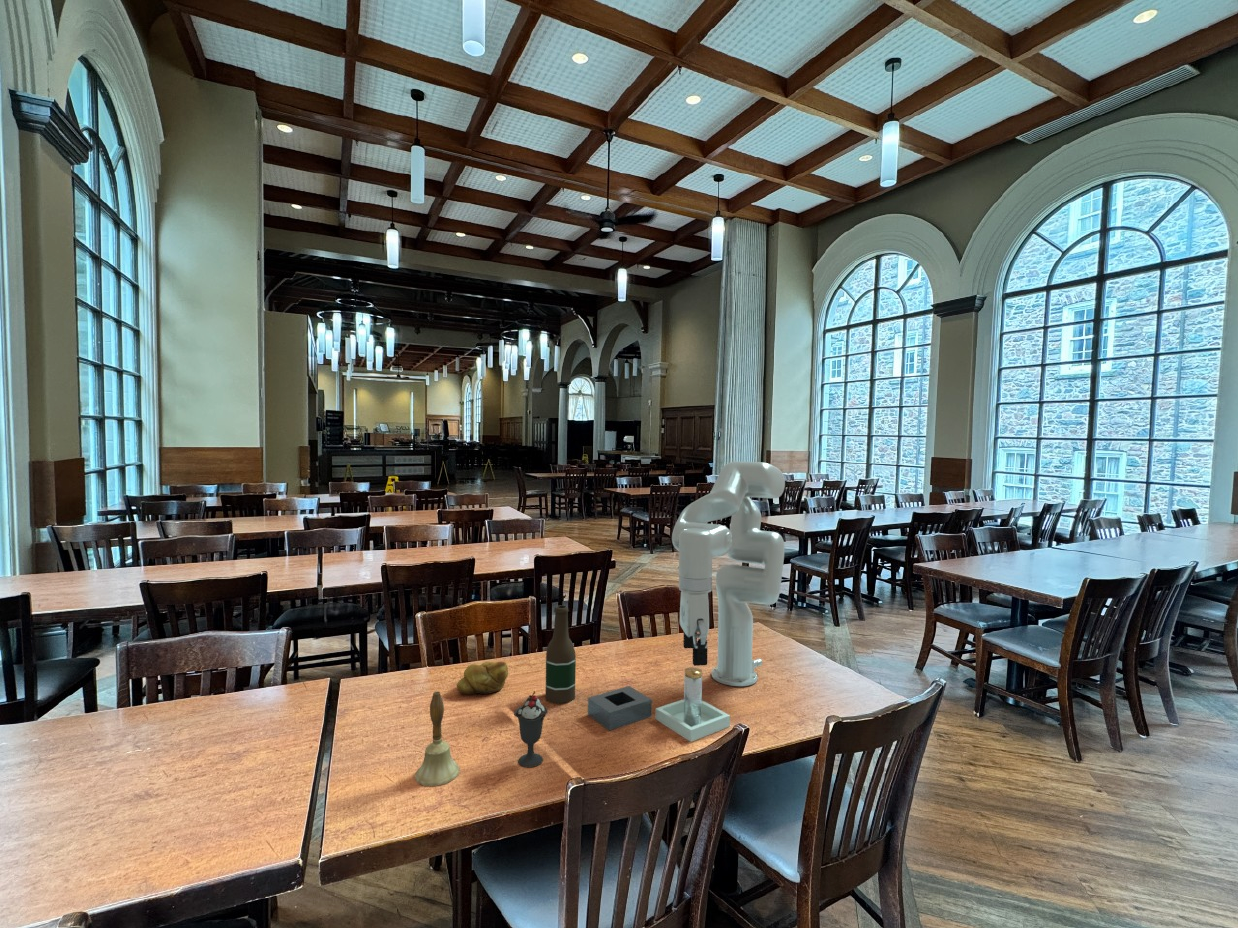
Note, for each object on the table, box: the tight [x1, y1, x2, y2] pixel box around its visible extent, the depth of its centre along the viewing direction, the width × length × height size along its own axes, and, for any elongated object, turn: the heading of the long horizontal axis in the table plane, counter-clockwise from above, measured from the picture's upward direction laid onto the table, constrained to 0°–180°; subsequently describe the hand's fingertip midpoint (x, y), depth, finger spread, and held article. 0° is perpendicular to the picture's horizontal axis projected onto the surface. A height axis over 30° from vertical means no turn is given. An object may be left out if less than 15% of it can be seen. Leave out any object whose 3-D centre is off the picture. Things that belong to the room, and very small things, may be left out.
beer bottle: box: [545, 604, 577, 705], centre depth 139 cm, size 8×8×24 cm
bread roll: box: [456, 661, 509, 696], centre depth 145 cm, size 13×10×8 cm
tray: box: [655, 698, 731, 743], centre depth 127 cm, size 12×12×4 cm
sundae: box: [513, 690, 549, 768], centre depth 112 cm, size 7×7×15 cm
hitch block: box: [587, 685, 653, 732], centre depth 130 cm, size 12×9×5 cm
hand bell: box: [414, 691, 461, 787], centre depth 107 cm, size 8×8×16 cm
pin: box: [683, 666, 703, 727], centre depth 127 cm, size 4×4×12 cm
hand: (694, 655), depth 127 cm, fingers open, 9 cm apart
